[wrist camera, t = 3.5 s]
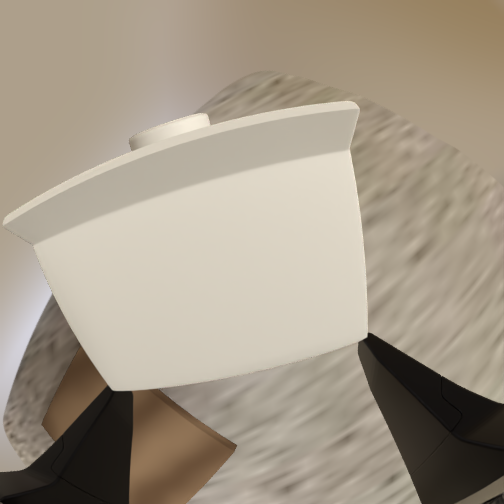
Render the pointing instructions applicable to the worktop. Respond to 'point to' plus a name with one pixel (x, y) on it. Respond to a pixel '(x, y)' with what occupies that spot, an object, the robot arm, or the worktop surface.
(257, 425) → the worktop surface
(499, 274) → the worktop surface
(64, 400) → the cutting board
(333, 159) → the milk carton
